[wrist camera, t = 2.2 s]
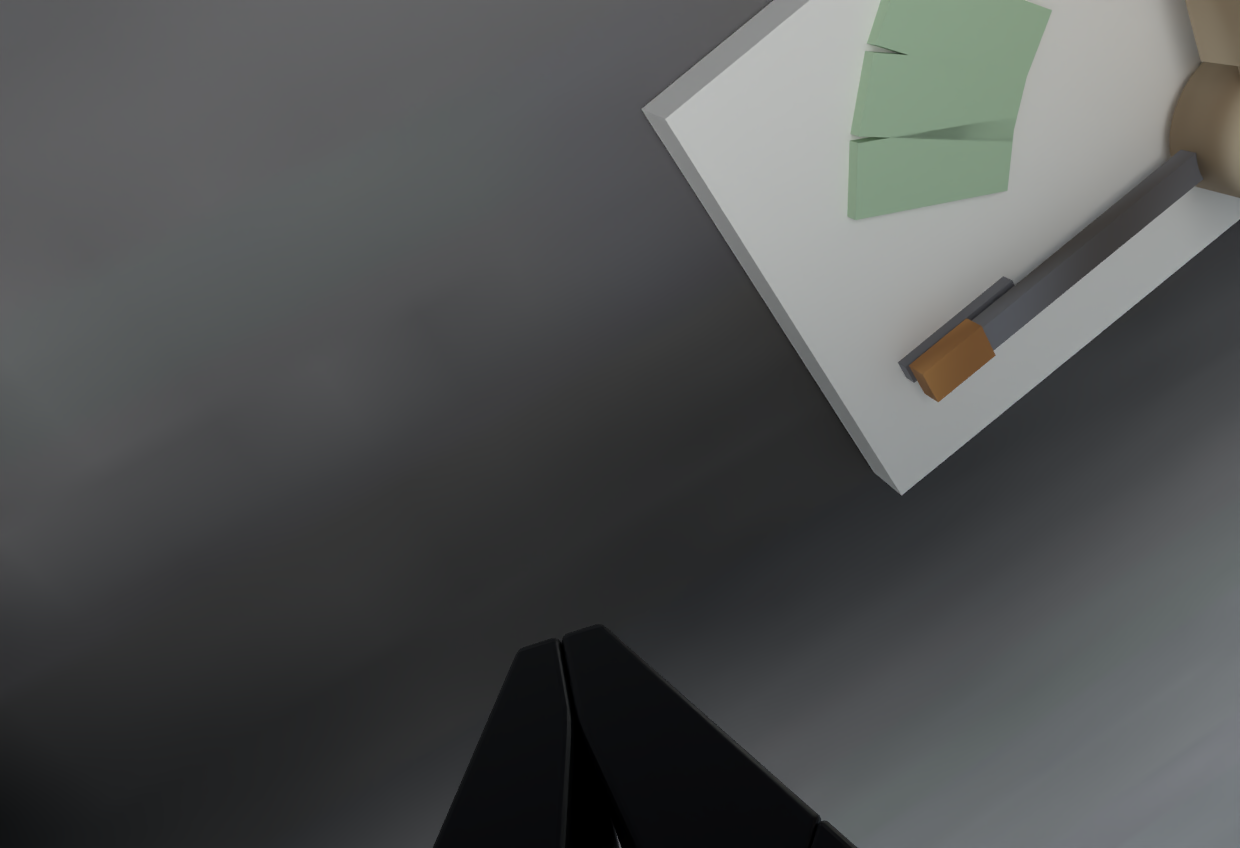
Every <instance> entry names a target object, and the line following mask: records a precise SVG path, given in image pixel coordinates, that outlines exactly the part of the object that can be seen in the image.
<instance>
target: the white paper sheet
mask: <svg viewBox="0 0 1240 848" xmlns="http://www.w3.org/2000/svg"><path fill="white" fill-rule="evenodd" d="M1201 63H1202V61H1201V60H1200V56H1199V52H1198V48H1197V45H1196V41H1195V37H1194V33H1193V29H1192V25H1191V21H1190V18H1189V14H1188V10H1187V6H1186V2H1185V0H773V1H772V2H771V3H770V4H769V5H767V6H766V7H765V8H764V9H762V10H761V11H760V12H759V13H758V14H756V15H755V16H754V17H753V18H751V19H750V20H749V21H748V22H747V23H745V24H744V25H743V26H742V27H741V28H739V29H738V30H737V31H736V32H734V33H733V34H732V35H731V36H730V37H728V38H727V39H726V40H725V41H724V42H722V43H721V44H720V45H719V46H717V47H716V48H715V49H714V50H713V51H711V52H710V53H709V54H708V55H707V56H705V57H704V58H703V59H702V60H700V61H699V62H698V63H697V64H696V65H694V66H693V67H692V68H691V69H690V70H688V71H687V72H686V73H685V74H683V75H682V76H681V77H680V78H679V79H677V80H676V81H675V82H674V83H672V84H671V85H670V86H669V87H668V88H666V89H665V90H664V91H663V92H662V93H660V94H659V95H658V96H657V97H655V98H654V99H653V100H652V101H651V102H649V103H648V104H647V105H646V106H645V107H643V108H642V109H641V110H642V111H643V113H644V114H645V116H646V117H647V119H648V120H649V122H650V124H651V125H652V127H653V128H654V130H655V131H656V133H657V135H658V136H659V138H660V139H661V141H662V142H663V144H664V145H665V147H666V149H667V150H668V152H669V153H670V155H671V156H672V158H673V159H674V161H675V163H676V164H677V166H678V167H679V169H680V170H681V172H682V174H683V175H684V177H685V178H686V180H687V181H688V183H689V184H690V186H691V188H692V189H693V191H694V192H695V194H696V195H697V197H698V199H699V200H700V202H701V203H702V205H703V206H704V208H705V209H706V211H707V213H708V214H709V216H710V217H711V219H712V220H713V222H714V224H715V225H716V227H717V228H718V230H719V231H720V233H721V234H722V236H723V238H724V239H725V241H726V242H727V244H728V245H729V247H730V249H731V250H732V252H733V253H734V255H735V256H736V258H737V259H738V261H739V263H740V264H741V266H742V267H743V269H744V270H745V272H746V274H747V275H748V277H749V278H750V280H751V281H752V283H753V284H754V286H755V288H756V289H757V291H758V292H759V294H760V295H761V297H762V299H763V300H764V302H765V303H766V305H767V306H768V308H769V309H770V311H771V313H772V314H773V316H774V317H775V319H776V320H777V322H778V323H779V325H780V327H781V328H782V330H783V331H784V333H785V334H786V336H787V338H788V339H789V341H790V342H791V344H792V345H793V347H794V348H795V350H796V352H797V353H798V355H799V356H800V358H801V359H802V361H803V363H804V364H805V366H806V367H807V369H808V370H809V372H810V373H811V375H812V377H813V378H814V380H815V381H816V383H817V384H818V386H819V388H820V389H821V391H822V392H823V394H824V395H825V397H826V398H827V400H828V402H829V403H830V405H831V406H832V408H833V409H834V411H835V413H836V414H837V416H838V417H839V419H840V420H841V422H842V423H843V425H844V427H845V428H846V430H847V431H848V433H849V434H850V436H851V438H852V439H853V441H854V442H855V444H856V445H857V447H858V448H859V450H860V452H861V453H862V455H863V456H864V458H865V459H866V461H867V463H868V464H869V466H870V467H871V469H872V470H873V472H874V473H875V474H876V475H878V476H879V477H880V478H881V479H882V480H884V481H885V482H886V483H887V484H888V485H890V486H891V487H892V488H893V489H894V490H896V491H897V492H898V493H899V494H900V495H903V494H904V493H905V492H906V491H908V490H909V489H910V488H911V487H913V486H914V485H915V484H916V483H917V482H919V481H920V480H921V479H922V478H924V477H925V476H926V475H927V474H928V473H930V472H931V471H932V470H933V469H935V468H936V467H937V466H938V465H939V464H941V463H942V462H943V461H944V460H946V459H947V458H948V457H949V456H950V455H952V454H953V453H954V452H955V451H957V450H958V449H959V448H960V447H962V446H963V445H964V444H965V443H966V442H968V441H969V440H970V439H971V438H973V437H974V436H975V435H976V434H977V433H979V432H980V431H981V430H982V429H984V428H985V427H986V426H987V425H988V424H990V423H991V422H992V421H993V420H995V419H996V418H997V417H998V416H999V415H1001V414H1002V413H1003V412H1004V411H1006V410H1007V409H1008V408H1009V407H1010V406H1012V405H1013V404H1014V403H1015V402H1017V401H1018V400H1019V399H1020V398H1021V397H1023V396H1024V395H1025V394H1026V393H1028V392H1029V391H1030V390H1031V389H1032V388H1034V387H1035V386H1036V385H1037V384H1039V383H1040V382H1041V381H1042V380H1044V379H1045V378H1046V377H1047V376H1048V375H1050V374H1051V373H1052V372H1053V371H1055V370H1056V369H1057V368H1058V367H1059V366H1061V365H1062V364H1063V363H1064V362H1066V361H1067V360H1068V359H1069V358H1070V357H1072V356H1073V355H1074V354H1075V353H1077V352H1078V351H1079V350H1080V349H1081V348H1083V347H1084V346H1085V345H1086V344H1088V343H1089V342H1090V341H1091V340H1092V339H1094V338H1095V337H1096V336H1097V335H1099V334H1100V333H1101V332H1102V331H1103V330H1105V329H1106V328H1107V327H1108V326H1110V325H1111V324H1112V323H1113V322H1114V321H1116V320H1117V319H1118V318H1119V317H1121V316H1122V315H1123V314H1124V313H1126V312H1127V311H1128V310H1129V309H1130V308H1132V307H1133V306H1134V305H1135V304H1137V303H1138V302H1139V301H1140V300H1141V299H1143V298H1144V297H1145V296H1146V295H1148V294H1149V293H1150V292H1151V291H1152V290H1154V289H1155V288H1156V287H1157V286H1159V285H1160V284H1161V283H1162V282H1163V281H1165V280H1166V279H1167V278H1168V277H1170V276H1171V275H1172V274H1173V273H1174V272H1176V271H1177V270H1178V269H1179V268H1181V267H1182V266H1183V265H1184V264H1185V263H1187V262H1188V261H1189V260H1190V259H1192V258H1193V257H1194V256H1195V255H1196V254H1198V253H1199V252H1200V251H1201V250H1203V249H1204V248H1205V247H1206V246H1208V245H1209V244H1210V243H1211V242H1212V241H1214V240H1215V239H1216V238H1217V237H1219V236H1220V235H1221V234H1222V233H1223V232H1225V231H1226V230H1227V229H1228V228H1230V227H1231V226H1232V225H1233V224H1234V223H1236V222H1237V221H1238V220H1239V219H1240V198H1238V197H1234V196H1230V195H1226V194H1222V193H1218V192H1214V191H1211V190H1207V189H1203V188H1199V187H1195V186H1194V187H1193V188H1192V189H1191V190H1189V191H1188V192H1187V193H1186V194H1185V195H1183V196H1182V197H1181V198H1180V199H1178V200H1177V201H1176V202H1175V203H1174V204H1172V205H1171V206H1170V207H1169V208H1167V209H1166V210H1165V211H1164V212H1163V213H1161V214H1160V215H1159V216H1158V217H1156V218H1155V219H1154V220H1153V221H1152V222H1150V223H1149V224H1148V225H1147V226H1145V227H1144V228H1143V229H1142V230H1141V231H1139V232H1138V233H1137V234H1136V235H1134V236H1133V237H1132V238H1131V239H1130V240H1128V241H1127V242H1126V243H1125V244H1123V245H1122V246H1121V247H1120V248H1119V249H1117V250H1116V251H1115V252H1114V253H1112V254H1111V255H1110V256H1109V257H1108V258H1106V259H1105V260H1104V261H1103V262H1101V263H1100V264H1099V265H1098V266H1097V267H1095V268H1094V269H1093V270H1092V271H1090V272H1089V273H1088V274H1087V275H1086V276H1084V277H1083V278H1082V279H1081V280H1079V281H1078V282H1077V283H1076V284H1075V285H1073V286H1072V287H1071V288H1070V289H1068V290H1067V291H1066V292H1065V293H1064V294H1062V295H1061V296H1060V297H1059V298H1057V299H1056V300H1055V301H1054V302H1053V303H1051V304H1050V305H1049V306H1048V307H1046V308H1045V309H1044V310H1043V311H1042V312H1040V313H1039V314H1038V315H1037V316H1035V317H1034V318H1033V319H1032V320H1031V321H1029V322H1028V323H1027V324H1026V325H1024V326H1023V327H1022V328H1021V329H1019V330H1018V331H1017V332H1016V333H1015V334H1013V335H1012V336H1011V337H1010V338H1008V339H1007V340H1006V341H1005V342H1004V343H1002V344H1001V345H1000V346H999V347H997V348H996V349H995V350H994V353H995V355H996V356H994V357H993V358H992V359H991V360H990V361H988V362H987V363H986V364H985V365H983V366H982V367H981V368H980V369H979V370H977V371H976V372H975V373H974V374H972V375H971V376H970V377H969V378H968V379H966V380H965V381H964V382H963V383H961V384H960V385H959V386H958V387H957V388H955V389H954V390H953V391H952V392H950V393H949V394H948V395H947V396H946V397H944V398H943V399H942V400H941V401H939V402H937V401H935V400H934V399H932V398H931V397H929V396H928V395H926V394H925V393H924V392H923V390H922V388H921V386H920V385H919V383H918V381H917V379H916V377H915V376H914V374H913V372H912V370H911V368H910V367H909V365H910V364H911V363H912V362H914V361H915V360H916V359H917V358H919V357H920V356H921V355H922V354H923V353H925V352H926V351H927V350H928V349H930V348H931V347H932V346H933V345H934V344H936V343H937V342H938V341H939V340H941V339H942V338H943V337H944V336H945V335H947V334H948V333H949V332H950V331H952V330H953V329H954V328H955V327H956V326H958V325H959V324H960V323H961V322H963V321H964V320H965V319H966V318H967V319H969V320H971V321H972V320H973V319H974V318H976V317H977V316H978V315H979V314H980V313H982V312H983V311H984V310H985V309H987V308H988V307H989V306H990V305H991V304H993V303H994V302H995V301H996V300H998V299H999V298H1000V297H1001V296H1002V295H1004V294H1005V293H1006V292H1007V291H1009V290H1010V289H1011V288H1012V287H1013V286H1015V285H1016V284H1017V283H1018V282H1020V281H1021V280H1022V279H1023V278H1024V277H1026V276H1027V275H1028V274H1029V273H1031V272H1032V271H1033V270H1034V269H1035V268H1037V267H1038V266H1039V265H1040V264H1042V263H1043V262H1044V261H1045V260H1046V259H1048V258H1049V257H1050V256H1051V255H1053V254H1054V253H1055V252H1056V251H1057V250H1059V249H1060V248H1061V247H1062V246H1064V245H1065V244H1066V243H1067V242H1068V241H1070V240H1071V239H1072V238H1073V237H1075V236H1076V235H1077V234H1078V233H1079V232H1081V231H1082V230H1083V229H1084V228H1086V227H1087V226H1088V225H1089V224H1090V223H1092V222H1093V221H1094V220H1095V219H1097V218H1098V217H1099V216H1100V215H1101V214H1103V213H1104V212H1105V211H1106V210H1108V209H1109V208H1110V207H1111V206H1112V205H1114V204H1115V203H1116V202H1117V201H1119V200H1120V199H1121V198H1122V197H1123V196H1125V195H1126V194H1127V193H1128V192H1130V191H1131V190H1132V189H1133V188H1134V187H1136V186H1137V185H1138V184H1139V183H1141V182H1142V181H1143V180H1144V179H1145V178H1147V177H1148V176H1149V175H1150V174H1152V173H1153V172H1154V171H1155V170H1156V169H1158V168H1159V167H1160V166H1161V165H1163V164H1164V163H1165V162H1166V161H1167V160H1169V159H1170V158H1171V155H1170V147H1169V135H1170V127H1171V122H1172V118H1173V114H1174V111H1175V108H1176V105H1177V102H1178V100H1179V97H1180V95H1181V93H1182V91H1183V89H1184V87H1185V85H1186V84H1187V82H1188V81H1189V79H1190V77H1191V76H1192V75H1193V73H1194V72H1195V71H1196V69H1197V68H1198V67H1199V66H1200V64H1201Z"/></svg>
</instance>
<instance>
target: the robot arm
mask: <svg viewBox="0 0 1240 848" xmlns="http://www.w3.org/2000/svg"><path fill="white" fill-rule="evenodd" d="M616 833H617V835H616ZM617 836H618V839H619V842H620V845H621V847H622V848H857V847H856V846H855V845H854V844H853V843H851V842H850V841H849V840H848V839H847V838H846V837H845V836H844V835H842V834H841V833H840V832H839V831H838V830H837V829H836V828H834V827H833V826H832V825H831V824H830V823H829V822H827V821H821V818H820V816H819V815H818V814H817V813H816V812H815V811H814V810H812V809H811V808H810V807H809V806H808V805H807V804H806V803H804V802H803V801H802V800H801V799H800V798H799V797H798V796H797V795H795V794H794V793H793V792H792V791H791V790H790V789H789V788H787V787H786V786H785V785H784V784H783V783H782V782H781V781H780V780H778V779H777V778H776V777H775V776H774V775H773V774H772V773H770V772H769V771H768V770H767V769H766V768H765V767H764V766H763V765H761V764H760V763H759V762H758V761H757V760H756V759H755V758H753V757H752V756H751V755H750V754H749V753H748V752H747V751H746V750H744V749H743V748H742V747H741V746H740V745H739V744H738V743H736V742H735V741H734V740H733V739H732V738H731V737H730V736H729V735H727V734H726V733H725V732H724V731H723V730H722V729H721V728H720V727H718V726H717V725H716V724H715V723H714V722H713V721H712V720H710V719H709V718H708V717H707V716H706V715H705V714H704V713H703V712H701V711H700V710H699V709H698V708H697V707H696V706H695V705H693V704H692V703H691V702H690V701H689V700H688V699H687V698H686V697H684V696H683V695H682V694H681V693H680V692H679V691H678V690H676V689H675V688H674V687H673V686H672V685H671V684H670V683H669V682H667V681H666V680H665V679H664V678H663V677H662V676H661V675H659V674H658V673H657V672H656V671H655V670H654V669H653V668H652V667H650V666H649V665H648V664H647V663H646V662H645V661H644V660H642V659H641V658H640V657H639V656H638V655H637V654H636V653H635V652H633V651H632V650H631V649H630V648H629V647H628V646H627V645H625V644H624V643H623V642H622V641H621V640H620V639H619V638H618V637H616V636H615V635H614V634H613V633H612V632H611V631H610V630H609V629H607V628H606V627H604V626H603V625H600V624H597V625H593V626H590V627H586V628H583V629H580V630H577V631H574V632H570V633H568V634H566V635H565V636H564V637H563V639H562V643H561V641H559V640H558V639H556V638H551V639H548V640H545V641H542V642H539V643H536V644H532V645H529V646H526V647H523V648H521V649H520V650H519V651H518V652H517V654H516V656H515V658H514V660H513V663H512V665H511V667H510V670H509V672H508V674H507V677H506V679H505V681H504V684H503V686H502V688H501V690H500V693H499V695H498V697H497V700H496V702H495V704H494V707H493V709H492V711H491V714H490V716H489V718H488V721H487V723H486V725H485V728H484V730H483V732H482V735H481V737H480V739H479V742H478V744H477V746H476V749H475V751H474V753H473V756H472V758H471V760H470V763H469V765H468V767H467V770H466V772H465V774H464V777H463V779H462V781H461V784H460V786H459V788H458V791H457V793H456V795H455V798H454V800H453V802H452V805H451V807H450V809H449V812H448V814H447V816H446V819H445V821H444V823H443V825H442V828H441V830H440V832H439V835H438V837H437V839H436V842H435V844H434V846H433V848H619V844H618V839H617Z"/></svg>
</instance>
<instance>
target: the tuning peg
mask: <svg viewBox="0 0 1240 848" xmlns="http://www.w3.org/2000/svg"><path fill="white" fill-rule="evenodd" d="M1185 2H1186V6H1187V10H1188V14H1189V18H1190V21H1191V25H1192V29H1193V33H1194V37H1195V41H1196V45H1197V48H1198V52H1199V56H1200V60H1201V61H1202V63H1201V64H1200V66H1199V67H1198V68H1197V69H1196V71H1195V72H1194V73H1193V75H1192V76H1191V77H1190V79H1189V81H1188V82H1187V84H1186V85H1185V87H1184V89H1183V91H1182V93H1181V95H1180V97H1179V100H1178V102H1177V105H1176V108H1175V111H1174V114H1173V118H1172V122H1171V127H1170V135H1169V147H1170V155H1171V158H1170V159H1169V160H1167V161H1166V162H1165V163H1164V164H1163V165H1161V166H1160V167H1159V168H1158V169H1156V170H1155V171H1154V172H1153V173H1152V174H1150V175H1149V176H1148V177H1147V178H1145V179H1144V180H1143V181H1142V182H1141V183H1139V184H1138V185H1137V186H1136V187H1134V188H1133V189H1132V190H1131V191H1130V192H1128V193H1127V194H1126V195H1125V196H1123V197H1122V198H1121V199H1120V200H1119V201H1117V202H1116V203H1115V204H1114V205H1112V206H1111V207H1110V208H1109V209H1108V210H1106V211H1105V212H1104V213H1103V214H1101V215H1100V216H1099V217H1098V218H1097V219H1095V220H1094V221H1093V222H1092V223H1090V224H1089V225H1088V226H1087V227H1086V228H1084V229H1083V230H1082V231H1081V232H1079V233H1078V234H1077V235H1076V236H1075V237H1073V238H1072V239H1071V240H1070V241H1068V242H1067V243H1066V244H1065V245H1064V246H1062V247H1061V248H1060V249H1059V250H1057V251H1056V252H1055V253H1054V254H1053V255H1051V256H1050V257H1049V258H1048V259H1046V260H1045V261H1044V262H1043V263H1042V264H1040V265H1039V266H1038V267H1037V268H1035V269H1034V270H1033V271H1032V272H1031V273H1029V274H1028V275H1027V276H1026V277H1024V278H1023V279H1022V280H1021V281H1020V282H1018V283H1017V284H1016V285H1015V286H1013V287H1012V288H1011V289H1010V290H1009V291H1007V292H1006V293H1005V294H1004V295H1002V296H1001V297H1000V298H999V299H998V300H996V301H995V302H994V303H993V304H991V305H990V306H989V307H988V308H987V309H985V310H984V311H983V312H982V313H980V314H979V315H978V316H977V317H976V318H974V319H973V320H972V321H971V320H969V319H967V318H966V319H965V320H964V321H963V322H961V323H960V324H959V325H958V326H956V327H955V328H954V329H953V330H952V331H950V332H949V333H948V334H947V335H945V336H944V337H943V338H942V339H941V340H939V341H938V342H937V343H936V344H934V345H933V346H932V347H931V348H930V349H928V350H927V351H926V352H925V353H923V354H922V355H921V356H920V357H919V358H917V359H916V360H915V361H914V362H912V363H911V364H910V365H909V367H910V368H911V370H912V372H913V374H914V376H915V377H916V379H917V381H918V383H919V385H920V386H921V388H922V390H923V392H924V393H925V394H926V395H928V396H929V397H931V398H932V399H934V400H935V401H937V402H939V401H941V400H942V399H943V398H944V397H946V396H947V395H948V394H949V393H950V392H952V391H953V390H954V389H955V388H957V387H958V386H959V385H960V384H961V383H963V382H964V381H965V380H966V379H968V378H969V377H970V376H971V375H972V374H974V373H975V372H976V371H977V370H979V369H980V368H981V367H982V366H983V365H985V364H986V363H987V362H988V361H990V360H991V359H992V358H993V357H994V356H996V355H995V353H994V350H995V349H996V348H997V347H999V346H1000V345H1001V344H1002V343H1004V342H1005V341H1006V340H1007V339H1008V338H1010V337H1011V336H1012V335H1013V334H1015V333H1016V332H1017V331H1018V330H1019V329H1021V328H1022V327H1023V326H1024V325H1026V324H1027V323H1028V322H1029V321H1031V320H1032V319H1033V318H1034V317H1035V316H1037V315H1038V314H1039V313H1040V312H1042V311H1043V310H1044V309H1045V308H1046V307H1048V306H1049V305H1050V304H1051V303H1053V302H1054V301H1055V300H1056V299H1057V298H1059V297H1060V296H1061V295H1062V294H1064V293H1065V292H1066V291H1067V290H1068V289H1070V288H1071V287H1072V286H1073V285H1075V284H1076V283H1077V282H1078V281H1079V280H1081V279H1082V278H1083V277H1084V276H1086V275H1087V274H1088V273H1089V272H1090V271H1092V270H1093V269H1094V268H1095V267H1097V266H1098V265H1099V264H1100V263H1101V262H1103V261H1104V260H1105V259H1106V258H1108V257H1109V256H1110V255H1111V254H1112V253H1114V252H1115V251H1116V250H1117V249H1119V248H1120V247H1121V246H1122V245H1123V244H1125V243H1126V242H1127V241H1128V240H1130V239H1131V238H1132V237H1133V236H1134V235H1136V234H1137V233H1138V232H1139V231H1141V230H1142V229H1143V228H1144V227H1145V226H1147V225H1148V224H1149V223H1150V222H1152V221H1153V220H1154V219H1155V218H1156V217H1158V216H1159V215H1160V214H1161V213H1163V212H1164V211H1165V210H1166V209H1167V208H1169V207H1170V206H1171V205H1172V204H1174V203H1175V202H1176V201H1177V200H1178V199H1180V198H1181V197H1182V196H1183V195H1185V194H1186V193H1187V192H1188V191H1189V190H1191V189H1192V188H1193V187H1194V186H1195V187H1199V188H1203V189H1207V190H1211V191H1214V192H1218V193H1222V194H1226V195H1230V196H1234V197H1238V198H1240V0H1185Z"/></svg>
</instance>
